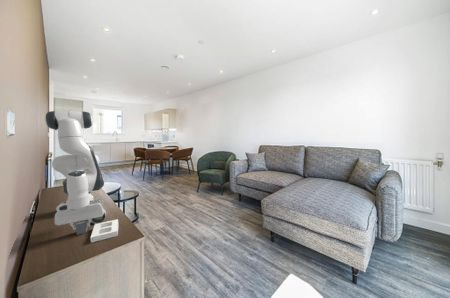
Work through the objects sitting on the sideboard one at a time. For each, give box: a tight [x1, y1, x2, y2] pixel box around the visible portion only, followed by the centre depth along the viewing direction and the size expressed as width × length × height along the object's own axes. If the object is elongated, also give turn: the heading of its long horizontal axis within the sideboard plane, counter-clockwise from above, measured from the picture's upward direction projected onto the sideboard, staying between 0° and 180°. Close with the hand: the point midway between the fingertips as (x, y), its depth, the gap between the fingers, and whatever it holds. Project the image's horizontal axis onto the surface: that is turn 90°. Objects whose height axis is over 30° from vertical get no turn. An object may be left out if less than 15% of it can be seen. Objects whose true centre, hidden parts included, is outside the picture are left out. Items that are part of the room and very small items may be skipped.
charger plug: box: [75, 220, 88, 236], centre depth 98 cm, size 4×4×6 cm
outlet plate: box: [90, 219, 119, 243], centre depth 97 cm, size 16×11×2 cm
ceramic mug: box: [87, 208, 107, 225], centre depth 110 cm, size 11×8×8 cm
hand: (81, 228), depth 98 cm, fingers closed on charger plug, 4 cm apart
